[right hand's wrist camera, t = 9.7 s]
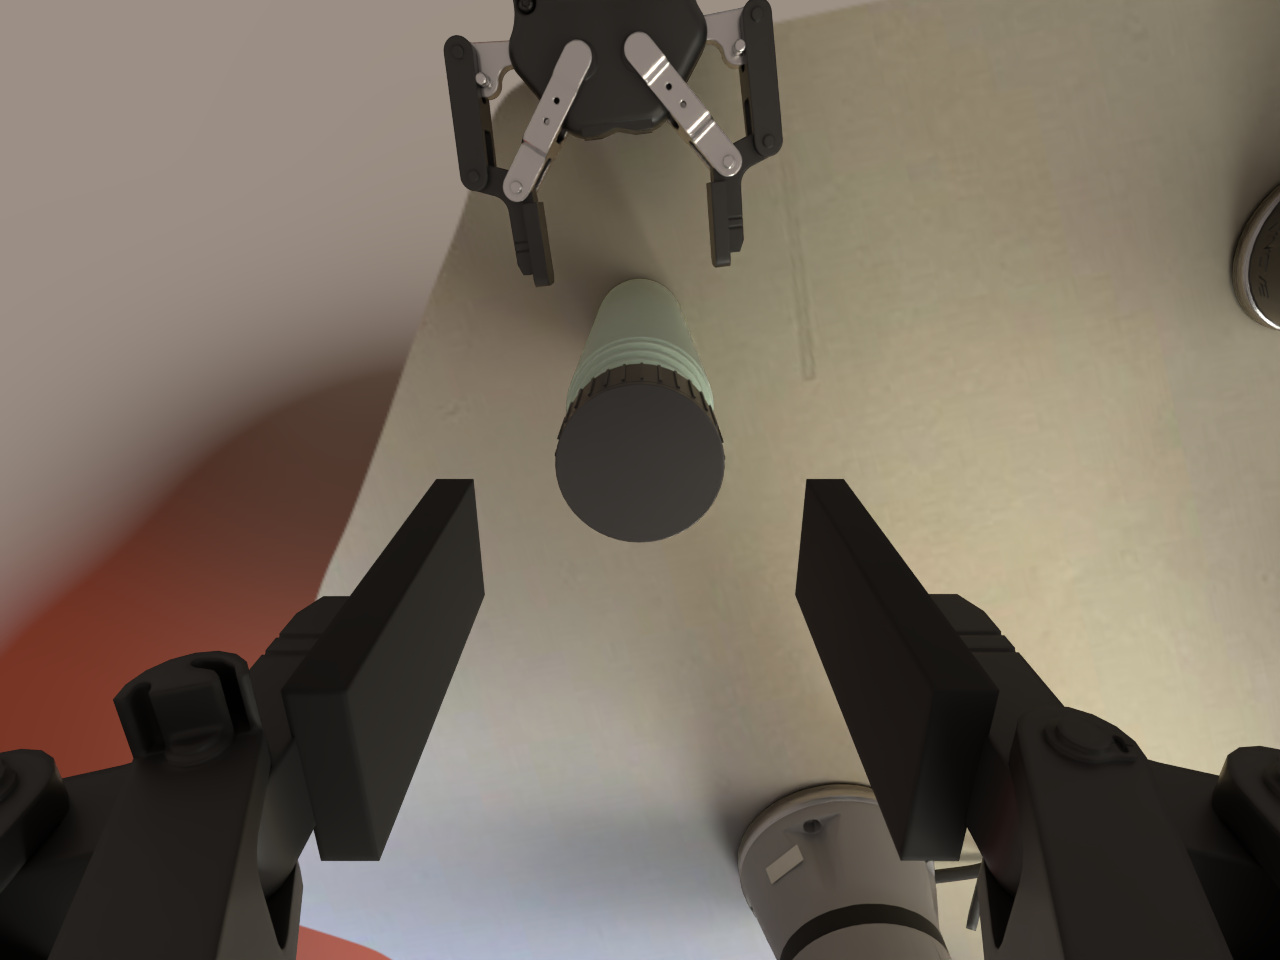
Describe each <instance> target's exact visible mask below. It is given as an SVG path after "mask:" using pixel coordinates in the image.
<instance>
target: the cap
mask: <svg viewBox="0 0 1280 960" xmlns="http://www.w3.org/2000/svg"><path fill="white" fill-rule="evenodd" d="M557 439H559V442H558V445H557V449H556V452H555V456H556V461H555V467H556V476H557V480H558V484H559V487H560V490H561V492H562V495H563V497H564V499H565V500H566V502H567V504H568V505H569V507H570V508H571V509H572V511H573V512H574V513H575V514H576V515H577V516H578V517H579V518H580V519H581V520H582V521H583V522H584V523H586V524H587V525H588V526H589V527H591V528H592V529H594V530H596V531H597V532H599V533H601V534H604V535H606V536H608V537H611V538H614V539H618V540H622V541H628V542H652V541H658V540H662V539H666V538H669V537H672V536H674V535H676V534H679V533H681V532H682V531H684V530H686V529H688V528H689V527H691V526H692V525H693V524H695V523H696V522H697V521H698V520H699V519H700V518H701V517H702V516H703V515H704V514H705V513H706V512H707V511H708V509H709V508H710V507H711V505H712V504H713V502H714V500H715V499H716V497H717V495H718V492H719V490H720V488H721V484H722V480H723V476H724V468H725V461H724V460H725V455H724V451H723V445H722V443H724V442H723V438H722V436H721V433H720V430H719V427H718V424H717V421H716V418H715V415H714V412H713V410H712V407H711V405H708V403H707V401H706V400H705V397H704V394H703V392H702V391H699V390H698V389H697V388H696V387H695V386H694V385H693V384H692V381H691V380H690V379H689V380H687V379H686V378H684V377H683V376H681V375H680V374H678V373H677V371H675V370H674V371H672V370H670V369H667V368H664V367H661V365H659V364H658V366H657V365H652V364H643V362H640V364H629V365H626V364H623V366H619V367H616V368H613V369H610V370H609V369H607V370H606V372H604V373H602V374H600V375H599V376H597V377H596V378H594V377H593V378H592V379H591V381H590V382H589V383H588V384H587V385H586V386H585V387H584V388H583V389H582V388H581V389H580V390H579V392H578V395H577V397H576V398H575V400H574V401H573V402H571V403H570V405H569V408H568V411H567V414H566V417H565V418H564V420H563V423H562V426H561V429H560V432H559V435H558V438H557Z"/></svg>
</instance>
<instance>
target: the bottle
mask: <svg viewBox="0 0 1280 960" xmlns="http://www.w3.org/2000/svg"><path fill="white" fill-rule="evenodd" d="M640 362H643V364H652V365H657V366H658V364H659V365H661V367H664V368H667V369H670V370H672V371H674V370H675V371H677V373H678V374H680V375H681V376H683V377H684V378H686V379H687V380H689V379H690V380H691V381H692V384H693V385H694V386H695V387H696V388H697V389H698V390H699V391H702V392H703V394H704V397H705V400H706V401H707V403H708V405H711V407H712V410H713V412H714V401H713V395H712V390H711V387H710V384H709V381H708V378H707V376H706V373H705V371H704V368H703V365H702V363H701V360H700V358H699V355H698V352H697V350H696V347H695V345H694V342H693V339H692V337H691V334H690V332H689V329H688V326H687V324H686V321H685V319H684V316H683V313H682V311H681V308H680V306H679V304H678V301H677V300H676V298H675V297H674V295H673V294H672V293H671V292H670V291H669V290H668V289H667V288H666V287H664V286H663V285H661V284H659V283H657V282H655V281H652V280H648V279H632V280H628V281H625V282H623V283H621V284H619V285H617V286H616V287H614V288H613V289H612V290H611V291H610V292H609V293H608V294H607V295H606V297H605V298H604V300H603V301H602V304H601V306H600V308H599V311H598V313H597V316H596V319H595V321H594V324H593V326H592V329H591V332H590V334H589V337H588V339H587V342H586V345H585V347H584V350H583V352H582V355H581V358H580V360H579V363H578V365H577V368H576V371H575V373H574V376H573V378H572V381H571V384H570V387H569V390H568V395H567V403H566V412H567V411H568V408H569V405H570V403H571V402H573V401H574V400H575V398H576V397H577V395H578V392H579V390H580V389H581V388H582V389H583V388H584V387H585V386H586V385H587V384H588V383H589V382H590V381H591V379H592V378H593V377H594V378H596V377H597V376H599V375H600V374H602V373H604V372H606V370H607V369H609V370H610V369H613V368H616V367H619V366H623V364H626V365H629V364H640Z"/></svg>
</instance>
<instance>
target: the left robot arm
mask: <svg viewBox="0 0 1280 960" xmlns="http://www.w3.org/2000/svg"><path fill="white" fill-rule="evenodd" d="M513 2H514V11H515V17H514V26H513V31H512V34H511V37H510V40H509V41H495V42H478V43H471V42H469V41H468V40H467V39H465V38H464V37H462V36H459V35H455V36H452V37H450V38H449V39H448V40H447V41H446V43H445V45H444V57H445V65H446V72H447V80H448V87H449V95H450V102H451V110H452V117H453V125H454V132H455V140H456V147H457V155H458V162H459V170H460V177H461V181H462V183H463V185H464V186H465V187H466V188H468V189H469V190H472V191H477V192H481V193H485V194H489V195H493V196H496V197H498V198H500V199H501V200H503V201H504V202H505V204H506V205H507V207H508V210H509V215H510V221H511V227H512V233H513V239H514V245H515V251H516V257H517V263H518V266H519V268H520V269H521V271H522V273H523V275H532V274H533V277H534V282H535V286H536V287H541V286H550V285H552V284H553V283H554V272H553V265H552V259H551V252H550V245H549V239H548V232H547V225H546V219H545V212H544V206H543V202H538V198H537V192H538V190H539V188H540V186H541V184H542V182H543V180H544V178H545V176H546V174H547V172H548V171H549V169H550V167H551V165H552V163H553V161H554V160H555V159H556V157H557V155H558V154H559V152H560V150H561V148H562V146H563V144H564V142H565V140H566V138H567V136H568V134H569V133H570V134H572V135H573V136H575V137H578V138H581V139H584V140H585V141H589V140H597V139H603V138H605V137H607V136H610V135H612V134H614V133H617V132H622V133H628V134H634V135H638V134H646V133H652V131H653V130H655V129H657V128H659V127H660V126H661V125H662V124H663V123H664V122H665V121H666V120H667V121H668V123H669V124H670V125H671V126H672V127H673V129H674V130H675V131H676V132H677V133H678V135H679V136H680V137H681V138H682V139H683V140H684V142H685V143H686V144H688V145H689V146H690V147H691V148H692V150H693V151H694V152H695V153H696V154H697V156H698V157H699V158H700V159H701V160H702V162H703V163H704V164H705V165H706V166H707V168H708V169H709V170H710V176H711V182H710V183H707V184H706V185H707V200H708V214H709V229H710V244H711V257H712V264H713V266H714V267H723V266H730V263H731V257H730V252H739V251H740V250H741V246H742V243H743V240H744V236H743V218H742V197H741V179H742V176H743V174H744V173H745V171H746V170H747V169H748V168H749V167H751V166H753V165H755V164H756V163H758V162H760V161H762V160H764V159H766V158H768V157H770V156H773V155H775V154H776V153H777V152H778V151H779V150H780V148H781V146H782V142H783V137H782V126H781V114H780V102H779V91H778V79H777V67H776V56H775V44H774V32H773V21H772V10H771V6H770V4H769V3H768V1H767V0H749V1H748V2H747V3H746V5H745V6H744V7H742V8H738V9H733V10H729V11H724V12H719V13H714V14H709V15H703V13H702V12H701V10H700V8H699V6H698V5H697V2H696V0H513ZM706 44H711V45H714V46H715V47H717V48H718V49H719V51H720V53H721V55H722V59H723V62H724V63H725V65H726V66H727V67H729V68H731V69H739V73H740V83H741V93H742V102H743V112H744V122H745V131H746V137H744V138H742V139H741V140H739V141H737V142H735V143H732V142H731V141H730V140H729V138H728V137H727V136H726V135H725V134H724V132H723V131H722V130H721V129H720V127H719V126H718V125H717V124H716V122H715V121H714V119H713V118H712V116H711V114H710V113H709V111H708V110H707V109H706V107H705V106H704V105H703V104H702V102H701V101H700V100H699V99H698V97H697V96H696V95H695V94H694V92H693V91H692V90H691V89H690V88H689V86H688V85H687V84H686V83H687V81H688V79H689V77H690V76H691V74H692V72H693V70H694V68H695V66H696V64H697V62H698V60H699V58H700V56H701V54H702V52H703V50H704V47H705V45H706ZM512 69H514V70H515V71H516V73H517V74H518V75H519V76H520V77H521V79H522V80H523V81H524V82H525V83H526V84H527V86H528V87H529V88H530V89H531V90H532V92H533V93H534V94H535V95H536V96H537V97H538V99H539V100H540V102H539V104H538V106H537V108H536V110H535V112H534V114H533V116H532V119H531V121H530V123H529V125H528V127H527V129H526V131H525V133H524V136H523V139H522V143H521V146H520V148H519V150H518V152H517V154H516V157H515V159H514V161H513V163H512V165H511V167H510V169H509V170H505V169H502V168H498V167H497V166H496V157H495V149H494V140H493V131H492V122H491V114H490V105H489V100H493V99H495V98H497V97H498V96H499V95H500V93H501V90H502V80H503V77H504V75H505V74H506V73H507V72H508V71H509V70H512ZM1233 284H1234V290H1235V293H1236V296H1237V299H1238V301H1239V303H1240V305H1241V306H1242V308H1243V309H1244V311H1245V312H1246V313H1247V314H1248V315H1249V316H1250V317H1251V318H1252V319H1253V320H1255V321H1256V322H1258V323H1259V324H1261V325H1263V326H1265V327H1268V328H1271V329H1275V330H1279V331H1280V184H1279V185H1278V186H1277V187H1276V188H1275V189H1274V190H1273V191H1272V192H1271V193H1270V194H1269V195H1268V196H1267V197H1266V198H1265V199H1264V200H1263V201H1262V203H1261V204H1260V205H1259V206H1258V208H1257V209H1256V210H1255V212H1254V213H1253V215H1252V216H1251V218H1250V219H1249V221H1248V223H1247V224H1246V226H1245V228H1244V230H1243V232H1242V235H1241V237H1240V239H1239V242H1238V245H1237V248H1236V252H1235V256H1234V262H1233Z"/></svg>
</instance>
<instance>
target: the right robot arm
mask: <svg viewBox="0 0 1280 960" xmlns="http://www.w3.org/2000/svg"><path fill="white" fill-rule="evenodd" d="M484 595H485V593H484V582H483V572H482V562H481V551H480V541H479V531H478V521H477V510H476V500H475V490H474V479H436V480H435V482H434V483H433V484H432V486H431V487H430V488H429V490H428V491H427V492H426V494H425V495H424V496H423V498H422V499H421V501H420V502H419V503H418V505H417V506H416V507H415V509H414V510H413V511H412V513H411V514H410V515H409V517H408V518H407V520H406V521H405V522H404V524H403V525H402V526H401V528H400V529H399V530H398V532H397V533H396V534H395V536H394V537H393V538H392V540H391V541H390V543H389V544H388V545H387V547H386V548H385V549H384V551H383V552H382V553H381V555H380V556H379V557H378V559H377V560H376V562H375V563H374V564H373V566H372V567H371V568H370V570H369V571H368V572H367V574H366V575H365V576H364V578H363V579H362V580H361V582H360V583H359V585H358V586H357V587H356V589H355V590H354V591H353V593H352V594H351V595H350V596H323V597H321V598H320V599H318V600H317V601H315V602H314V603H312V604H311V605H309V606H307V607H306V608H304V609H303V610H301V611H300V612H298V613H297V614H296V615H295V616H294V617H293V618H292V620H291V621H290V622H289V623H288V624H287V625H286V627H285V628H284V629H283V630H282V631H281V633H280V636H279V638H276V639H275V640H274V641H273V642H272V643H271V644H270V646H269V647H268V648H267V649H266V653H265V655H261V656H260V658H259V659H258V660H257V661H256V662H255V664H254V665H253V666H252V667H251V668H250V670H249V668H248V665H247V662H246V661H245V660H244V659H242V658H241V657H240V656H238V655H237V654H234V653H227V652H222V651H211V652H199V653H193V654H189V655H186V656H182V657H178V658H174V659H171V660H168V661H166V662H164V663H162V664H159V665H157V666H155V667H153V668H151V669H148V670H146V671H145V672H143V673H142V674H140V675H139V676H137V677H136V678H134V679H133V680H132V681H130V682H129V683H127V684H126V685H125V686H124V687H123V688H122V690H121V691H120V692H119V693H118V694H117V695H116V697H115V698H114V699H113V701H114V704H115V707H116V710H117V712H118V715H119V718H120V721H121V724H122V727H123V730H124V732H125V735H126V738H127V741H128V744H129V747H130V749H131V752H132V755H133V758H134V759H133V761H132V763H129V764H125V765H121V766H117V767H112V768H108V769H103V770H99V771H94V772H89V773H85V774H80V775H76V776H71V777H67V778H61V775H60V773H59V770H58V768H57V766H56V763H55V761H54V758H53V757H51V756H50V755H48V754H46V753H45V752H44V751H42V750H29V749H19V750H13V751H8V752H2V753H0V960H296V952H297V942H298V932H299V922H300V912H301V902H302V893H303V883H302V877H301V871H300V867H299V863H298V858H299V856H300V854H301V852H302V850H303V848H304V846H305V845H306V843H307V841H308V839H309V837H310V835H311V833H312V831H313V829H314V833H315V837H316V841H317V846H318V850H319V854H320V858H321V861H379V860H380V858H381V855H382V853H383V850H384V848H385V845H386V843H387V840H388V838H389V835H390V833H391V830H392V828H393V825H394V822H395V820H396V817H397V815H398V812H399V810H400V807H401V805H402V802H403V800H404V797H405V795H406V792H407V790H408V787H409V785H410V782H411V780H412V777H413V775H414V772H415V769H416V767H417V764H418V762H419V759H420V757H421V754H422V752H423V749H424V747H425V744H426V742H427V739H428V737H429V734H430V732H431V729H432V727H433V724H434V722H435V719H436V717H437V714H438V711H439V709H440V706H441V704H442V701H443V699H444V696H445V694H446V691H447V689H448V686H449V684H450V681H451V679H452V676H453V674H454V671H455V669H456V666H457V664H458V661H459V658H460V656H461V653H462V651H463V648H464V646H465V643H466V641H467V638H468V636H469V633H470V631H471V628H472V626H473V623H474V621H475V618H476V616H477V613H478V611H479V608H480V605H481V603H482V600H483V598H484ZM795 595H796V598H797V600H798V603H799V605H800V608H801V611H802V613H803V616H804V618H805V621H806V623H807V626H808V628H809V631H810V633H811V636H812V638H813V641H814V643H815V646H816V648H817V651H818V653H819V656H820V658H821V661H822V664H823V666H824V669H825V671H826V674H827V676H828V679H829V681H830V684H831V686H832V689H833V691H834V694H835V696H836V699H837V701H838V704H839V706H840V709H841V711H842V714H843V717H844V719H845V722H846V724H847V727H848V729H849V732H850V734H851V737H852V739H853V742H854V744H855V747H856V749H857V752H858V754H859V757H860V759H861V762H862V764H863V767H864V769H865V772H866V775H867V777H868V780H869V782H870V785H871V787H872V788H869V787H864V786H859V785H849V784H835V785H824V786H818V787H813V788H808V789H805V790H801V791H799V792H796V793H793V794H791V795H788V796H786V797H784V798H782V799H780V800H779V801H777V802H775V803H774V804H772V805H771V806H769V807H768V808H766V809H765V810H764V811H763V812H761V813H760V814H759V815H758V816H757V817H756V818H755V819H754V821H753V822H752V823H751V824H750V826H749V827H748V828H747V830H746V832H745V834H744V835H743V837H742V840H741V843H740V846H739V850H738V868H739V875H740V881H741V887H742V891H743V894H744V896H745V898H746V901H747V903H748V905H749V907H750V909H751V910H752V912H753V913H754V915H755V917H756V918H757V920H758V922H759V924H760V926H761V928H762V930H763V933H764V935H765V937H766V939H767V941H768V943H769V945H770V947H771V949H772V951H773V953H774V955H775V957H776V959H777V960H952V959H951V957H950V955H949V952H948V950H947V947H946V945H945V942H944V940H943V937H942V935H941V932H940V929H939V918H938V905H937V893H936V884H937V883H944V882H952V881H960V880H967V879H974V878H978V879H977V883H976V886H975V890H974V894H973V898H972V902H971V906H970V910H969V914H968V920H967V926H966V928H968V929H971V930H974V931H976V928H977V924H978V921H979V917H980V920H981V930H982V940H983V950H984V960H1280V750H1279V749H1274V748H1268V747H1263V746H1252V747H1239V748H1238V749H1236V750H1235V751H1233V752H1232V753H1230V754H1229V755H1228V756H1227V758H1226V761H1225V763H1224V766H1223V768H1222V770H1221V773H1220V775H1219V776H1218V775H1214V774H1209V773H1204V772H1200V771H1195V770H1191V769H1186V768H1182V767H1177V766H1172V765H1168V764H1163V763H1159V762H1155V761H1152V760H1148V759H1147V757H1146V756H1145V755H1144V753H1143V752H1142V750H1141V749H1140V748H1139V746H1138V745H1137V743H1136V742H1135V741H1134V740H1133V739H1131V738H1130V737H1129V736H1128V735H1126V734H1125V733H1124V732H1123V731H1121V730H1120V729H1119V728H1118V727H1116V726H1114V725H1112V724H1111V723H1109V722H1107V721H1105V720H1103V719H1101V718H1099V717H1097V716H1095V715H1093V714H1090V713H1086V712H1083V711H1080V710H1077V709H1073V708H1070V707H1064V706H1063V704H1062V703H1061V702H1060V701H1059V700H1058V698H1057V697H1056V696H1055V695H1054V694H1053V692H1052V691H1051V690H1050V689H1049V688H1048V687H1047V685H1046V684H1045V683H1044V682H1043V681H1042V679H1041V678H1040V677H1039V676H1038V675H1037V674H1036V672H1035V671H1034V670H1033V669H1032V668H1031V666H1030V665H1029V664H1028V663H1027V662H1026V660H1025V659H1024V658H1023V657H1022V656H1021V655H1020V653H1019V652H1015V647H1014V646H1013V645H1012V644H1011V643H1010V641H1009V640H1008V639H1007V638H1006V637H1005V636H1004V635H1001V631H1000V630H999V628H998V627H997V626H996V625H995V624H994V622H993V621H992V620H991V619H990V618H989V617H988V615H987V614H986V613H985V612H984V611H983V610H981V609H980V608H978V607H977V606H975V605H973V604H972V603H970V602H969V601H967V600H966V599H964V598H962V597H961V596H959V595H958V594H928V593H927V591H926V590H925V589H924V587H923V586H922V585H921V583H920V582H919V580H918V579H917V578H916V576H915V575H914V574H913V572H912V571H911V570H910V568H909V567H908V566H907V564H906V563H905V562H904V560H903V559H902V557H901V556H900V555H899V553H898V552H897V551H896V549H895V548H894V547H893V545H892V544H891V543H890V541H889V540H888V538H887V537H886V536H885V534H884V533H883V532H882V530H881V529H880V528H879V526H878V525H877V524H876V522H875V521H874V520H873V518H872V517H871V515H870V514H869V513H868V511H867V510H866V509H865V507H864V506H863V505H862V503H861V502H860V501H859V499H858V498H857V496H856V495H855V494H854V492H853V491H852V490H851V488H850V487H849V486H848V484H847V483H846V482H845V480H844V479H806V490H805V500H804V510H803V521H802V531H801V541H800V551H799V562H798V572H797V582H796V593H795ZM967 828H968V830H969V831H970V833H971V835H972V837H973V839H974V841H975V843H976V845H977V847H978V849H979V851H980V852H981V854H982V856H983V859H982V863H978V864H974V865H969V866H962V867H954V868H946V869H938V870H935V869H934V861H959V858H960V854H961V850H962V846H963V841H964V837H965V833H966V829H967Z"/></svg>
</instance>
